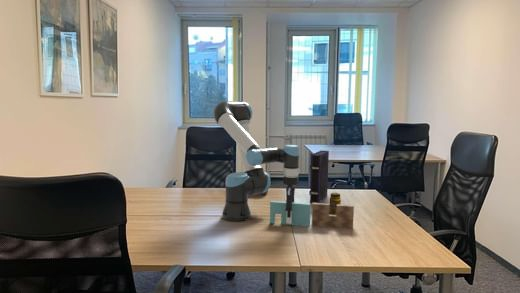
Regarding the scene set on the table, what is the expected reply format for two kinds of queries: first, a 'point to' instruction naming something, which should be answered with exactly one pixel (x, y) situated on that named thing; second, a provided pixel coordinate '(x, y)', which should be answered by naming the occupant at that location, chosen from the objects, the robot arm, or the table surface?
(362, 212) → the table surface
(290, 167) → the robot arm
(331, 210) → the condiment
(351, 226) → the walnut plate
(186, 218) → the table surface
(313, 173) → the book
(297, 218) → the teal plate
